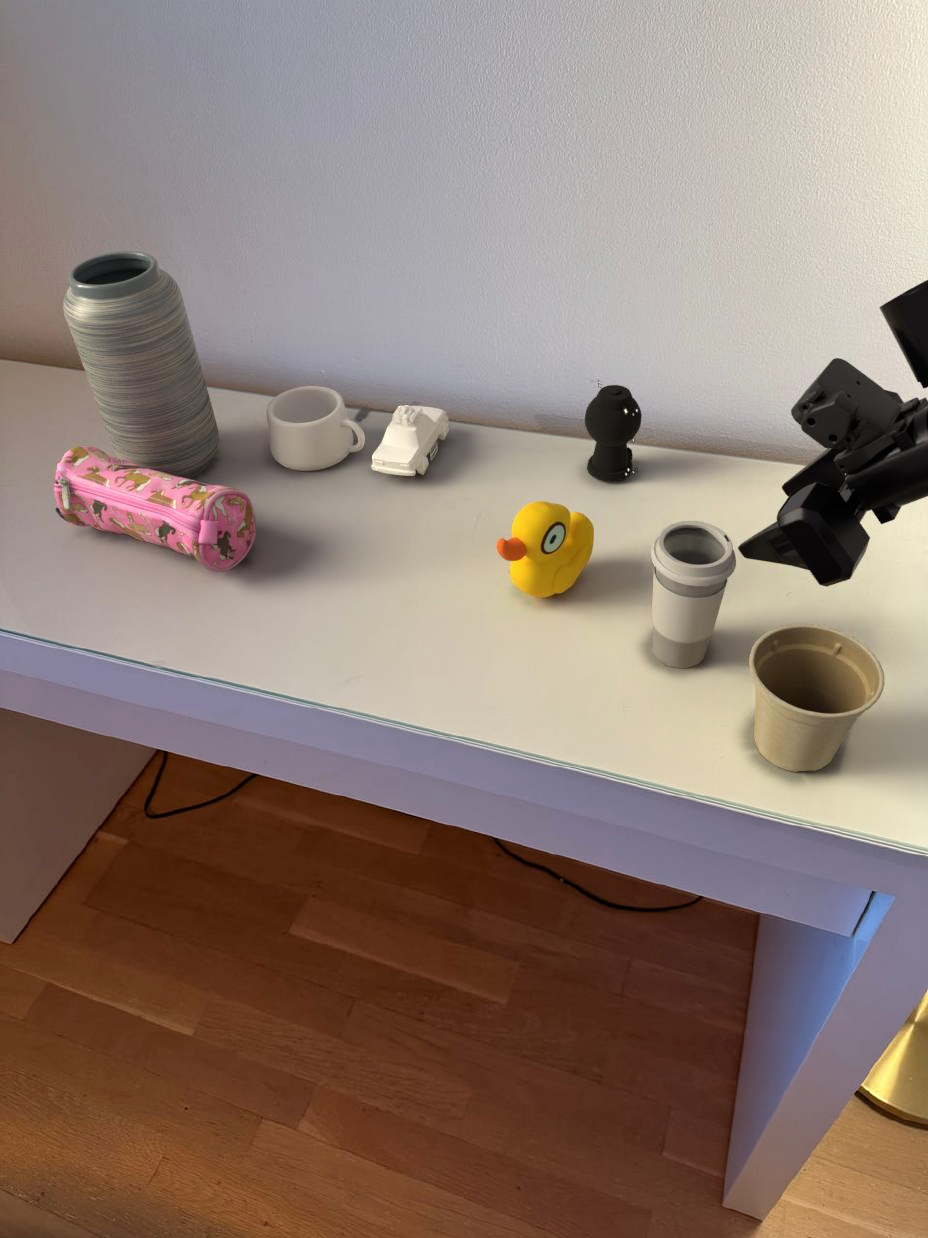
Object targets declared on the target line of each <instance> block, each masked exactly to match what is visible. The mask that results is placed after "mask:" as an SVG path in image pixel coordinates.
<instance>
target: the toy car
mask: <svg viewBox="0 0 928 1238" xmlns="http://www.w3.org/2000/svg"><path fill="white" fill-rule="evenodd" d="M449 421H450V420H449V417H448V413H447V412H446V411H445V410H443V409H441V408H437V407H431V406H424V405H408V404H405V405H399V406H398V407H397V408H396V410H395V411H394V412H393V414H392V418H391V421H390V422H389V424H388V426H387V427H386V429H385V432H384V435H383V438H382V440H381V442H380V444H378V447H376V449H375V450H374V452H373V454H372V455H371V460H372V464H371V466H370V468H371V470H372V471H376V472H379V473H383V474H389V475H396V476H406V477H407V476H408V477H413V476H414V477H415V475H416V474H417V473H418V474H420V475H422V476H424V475H425V473H426V471H427V469H428V466H429V465H430V463H429V459H428V457H427V456H428V455H429V456H430V457H429V458H430V461H433V459H434V458H435V456H436V454H437V452H438V450H439V449H438V441H437V440H438V439H440V440H441V441H445V440H446V438H447V435H448V433H449V432H450V428H449V427H450V426H449V424H448V423H449ZM416 471H417V472H416Z"/></svg>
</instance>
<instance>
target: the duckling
mask: <svg viewBox="0 0 928 1238" xmlns="http://www.w3.org/2000/svg"><path fill="white" fill-rule="evenodd" d="M510 532H511V537H510V538H508V539H505V538H502V537H500V538H498V540H497V542H496V550H497V553H498V555H499V556H500V557H501V558H502V559H504V560H505V561H508V562H510V566H509V578H510V580H511V582H512V584H513V585H514V586H515V587H516V588H517V589H518V590H520V591H521V592H522V593H524V594H526V595H528V596H531V597H534V598H539V599H540V598H541V599H543V598H544V599H545V598H549V597H551V596H553V595H555V594H557V595H559V594H562V593H564V592H565V591H567V590H568V589H570V588H571V587H572V586H573V585H574V584H575V582H576V581H577V579H578V578H579V576H580V574H581V573H582V571H583V569H584V567H586V565H587V564H588V562H589V560H590V559H591V557H592V554H593V550H594V541H595V527H594V523H592V521H591V520H590V518H589V517H588V516H587V515H585V514H584V513H582V512H579V511H574V512H570V510H569V508H568V507H566V506H565V505H563V504H560V503H554V502H548V501H544V500H537V501H533V502H530V503H528V504H526V505H524V506H523V507H522V508H521V509H520V510H519V511H518V512H517V514H516V515H515V516H514V519H513V521H512V524H511V531H510Z"/></svg>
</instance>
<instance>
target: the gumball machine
mask: <svg viewBox="0 0 928 1238" xmlns="http://www.w3.org/2000/svg"><path fill="white" fill-rule="evenodd" d="M597 387H598V388H600V389H599V391H598V392H597V394H596V396H595V397H594V398H593V399H592V400H591V401H590V402H589V403H588V405H587V407H586V410H585V414H584V425H585V429H586V431H587V433H588V435H589V437H591V438H592V439H593V440H594V441H595V446H594V450H593V454H592V455H591V456H590V457H589V458H588V460H587V464H586V470H587V472H588V474H589V476H591V477H592V478H595V479H596V480H599V481H602V482H618V481H621V480H625V479H627V478H628V477H629V476H631V474H633V475H635V472H637V473H638V472H639V470H638V469H639V468H637V467H635V468H634V469H633V467H634V466H633V456H634V454H633V449H632V448H630V447H629V446H628V442H633V443H635V436H636V435H637V434H638V432H639V431H640V428H641V426H642V425H641V424H642V410H641V408H640V407H641V406H640V405H639V403H638V402H637V400H636V399H635V398H634V397H633V395H632V392H631V390H630V389H629V388H627V387H626V386H623V385H620V384H611V385H610V384H609V385H605V386H603V387H602V384H601V381H600V380H599V379H598V380H597Z"/></svg>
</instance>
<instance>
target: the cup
mask: <svg viewBox="0 0 928 1238" xmlns="http://www.w3.org/2000/svg"><path fill="white" fill-rule="evenodd" d="M650 559H651V562H652V564H653V565H654V567H653V580H652V581H653V582H652V583H653V584H652V604H651V623H652V639H651V640H652V641H651V651H652V654H653V656H654V657H655V658H656V659H657V660H658V661H659V662H660V663H662V664H664V665H666V666H667V667H671V668H676V669H688V668H692V667H695V666H697V665H698V664H700V663H701V662H702V661H703V660H704V658H705V656H706V653H707V649H708V646H709V643H710V638H711V635H712V633H713V631H714V629H715V627H716V623H717V620H718V617H719V611H720V609H721V605H722V602H723V599H724V596H725V595H724V594H725V591H726V587H727V585H728V579H729V578H730V577H731V576H732V575H733V573H734V572H735V570H736V567H737V556H736V552H735V549H734V547H733V542H732V540H731V538H730V537H729V535H728V533H726V532H725V531H723V529H721V528H719V527H717V526H716V525H714V524H712V523H708V522H704V521H699V520H681V521H677V522H673V523H671V524H669V525H667V526H666V527H665V528H663V529H662V530H661V532H660V533H659V535H658V536H657V537H656V538H655V540H654V542H653V544H652V545H651V548H650Z"/></svg>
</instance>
